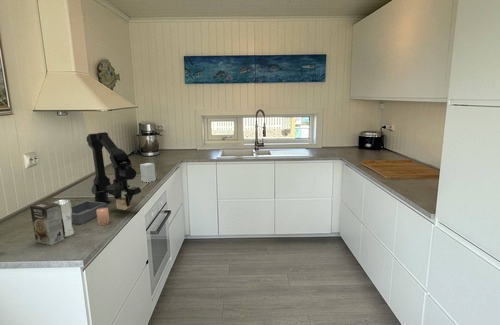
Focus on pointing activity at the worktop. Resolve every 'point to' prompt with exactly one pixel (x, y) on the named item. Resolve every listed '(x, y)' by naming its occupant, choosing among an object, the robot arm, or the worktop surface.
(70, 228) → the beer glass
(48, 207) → the coffee box
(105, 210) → the terracotta cylinder
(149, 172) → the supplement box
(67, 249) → the worktop surface
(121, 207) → the beech cube
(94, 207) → the tote
